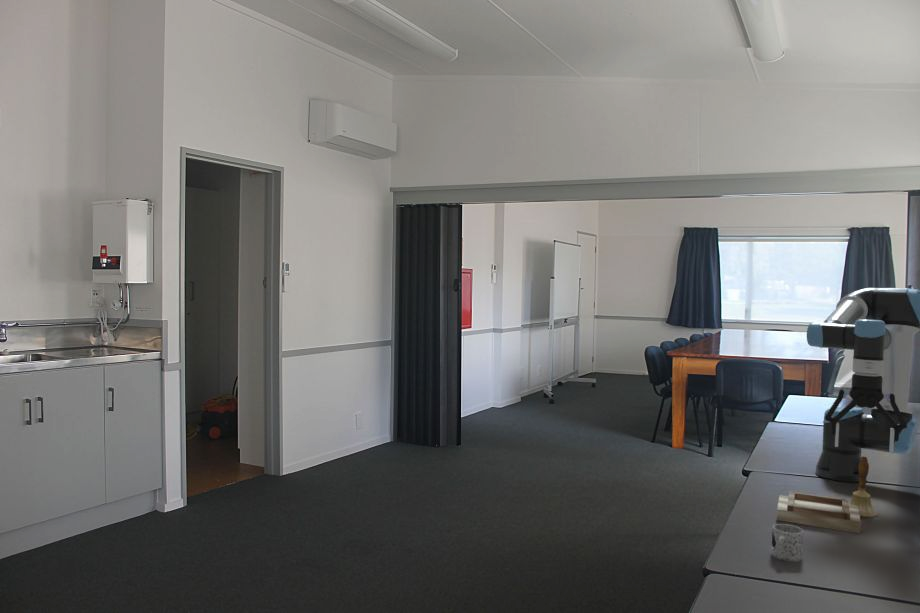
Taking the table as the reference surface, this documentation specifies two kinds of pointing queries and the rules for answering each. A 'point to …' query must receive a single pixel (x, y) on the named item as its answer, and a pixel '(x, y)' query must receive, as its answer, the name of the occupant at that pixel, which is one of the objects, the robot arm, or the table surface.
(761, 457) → the table surface
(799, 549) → the mug
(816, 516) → the stand
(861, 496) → the hand bell
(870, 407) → the robot arm
